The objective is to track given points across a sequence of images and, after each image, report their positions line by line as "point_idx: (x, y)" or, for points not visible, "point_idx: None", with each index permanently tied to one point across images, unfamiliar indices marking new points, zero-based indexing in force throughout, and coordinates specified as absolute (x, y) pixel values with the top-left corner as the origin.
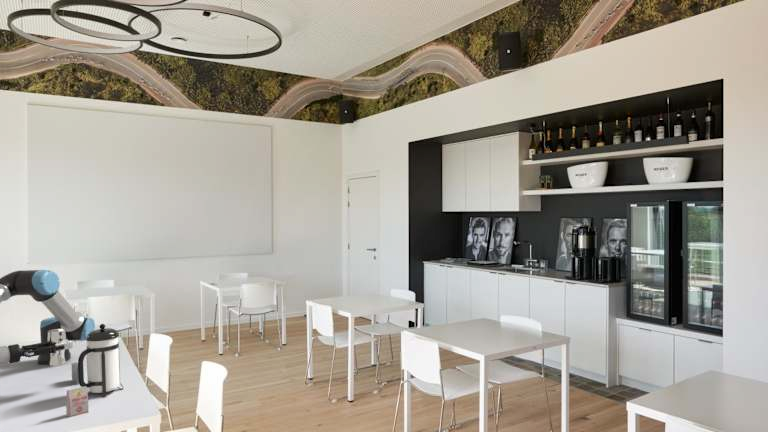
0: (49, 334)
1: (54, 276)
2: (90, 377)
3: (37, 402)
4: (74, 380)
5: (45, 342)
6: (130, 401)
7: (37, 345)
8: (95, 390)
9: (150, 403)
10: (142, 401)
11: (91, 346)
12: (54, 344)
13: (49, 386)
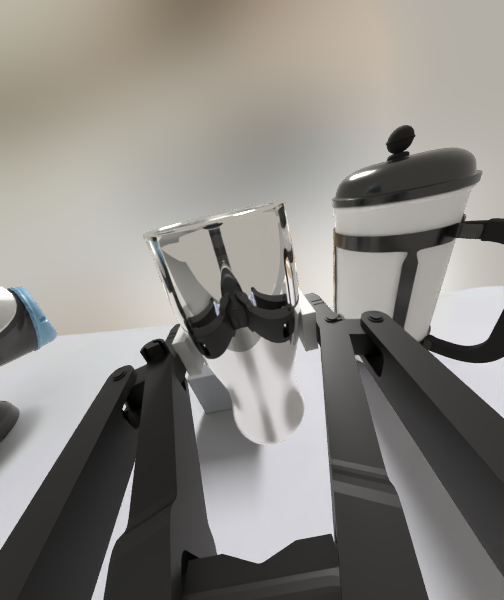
0: (250, 245)
1: None
2: (422, 330)
3: None
4: (230, 405)
5: (125, 379)
6: (467, 311)
7: (171, 460)
8: None
9: (483, 290)
10: (468, 298)
11: (460, 213)
12: (299, 314)
13: (211, 499)
